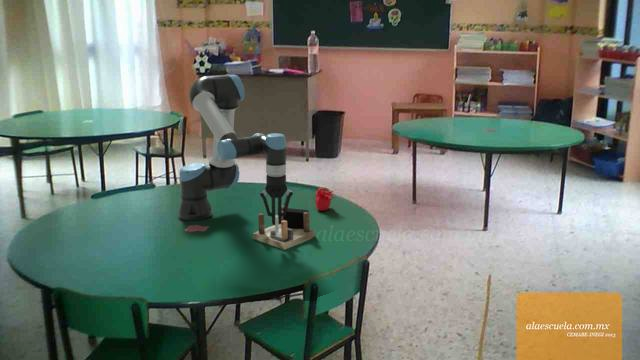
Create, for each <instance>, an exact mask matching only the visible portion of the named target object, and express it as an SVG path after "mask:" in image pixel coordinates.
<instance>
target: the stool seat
mask: <svg viewBox="0 0 640 360" xmlns="http://www.w3.org/2000/svg"><path fill="white" fill-rule="evenodd" d="M283 207H284V205H281V212H282V211H283ZM303 214H304V229H289V228H287V231H288V238H287V240H284V241H282V240H279V239H276V238H273V237H270V231H271V230H275V225H271V226H269V227H267V228H265V227H266V226H265V213H258V214H257V218H258V219H257V220H258V221H257V222H258V231H255V232H253V234H252V235H253V237H252V238H253V240H256V241H257V242H258V241H259V242H261V243H264V244H267V245H269V246H272V247H276V248H278V249H280V250H284V251H285V250H287V249H290V248H293V247H295V246H297V245H300V244H302V243H304V242H307V241H309V240H312V239H314V238H316V231H315V230H314V229H313V230H312V229H310V226H311V225H310V211H309V212H304V213H303ZM281 221H283V216H282V217H281ZM277 234H280V235H281V224H280V225H279V233H277ZM313 237H314V238H313Z"/></svg>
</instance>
